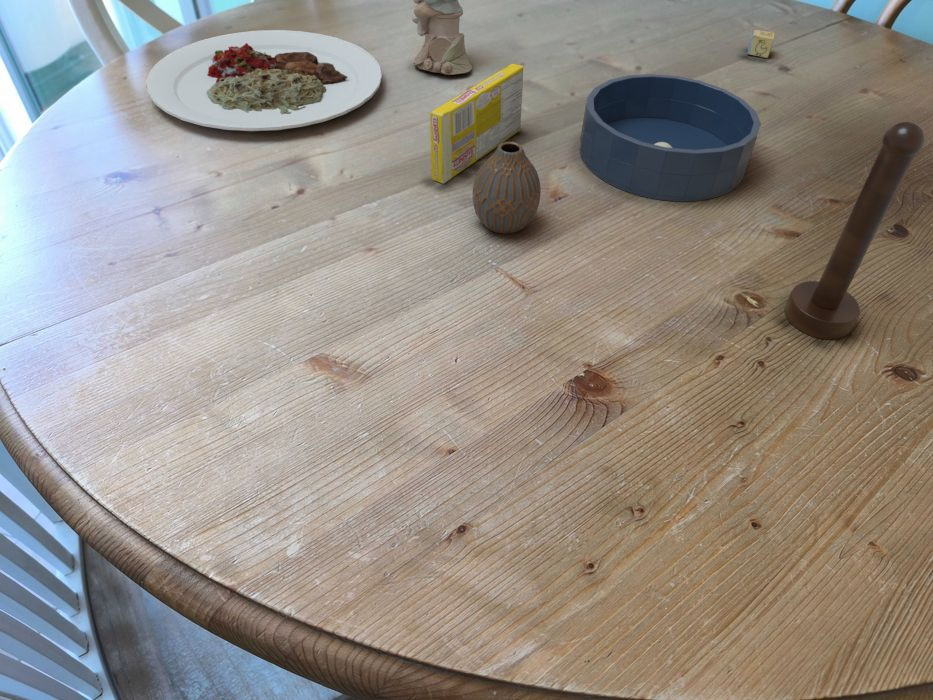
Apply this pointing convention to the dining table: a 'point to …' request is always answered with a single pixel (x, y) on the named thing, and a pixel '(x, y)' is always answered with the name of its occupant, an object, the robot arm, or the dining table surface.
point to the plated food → (264, 80)
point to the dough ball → (663, 144)
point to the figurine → (440, 37)
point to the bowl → (667, 137)
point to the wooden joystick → (854, 241)
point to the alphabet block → (761, 43)
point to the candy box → (475, 122)
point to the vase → (506, 190)
